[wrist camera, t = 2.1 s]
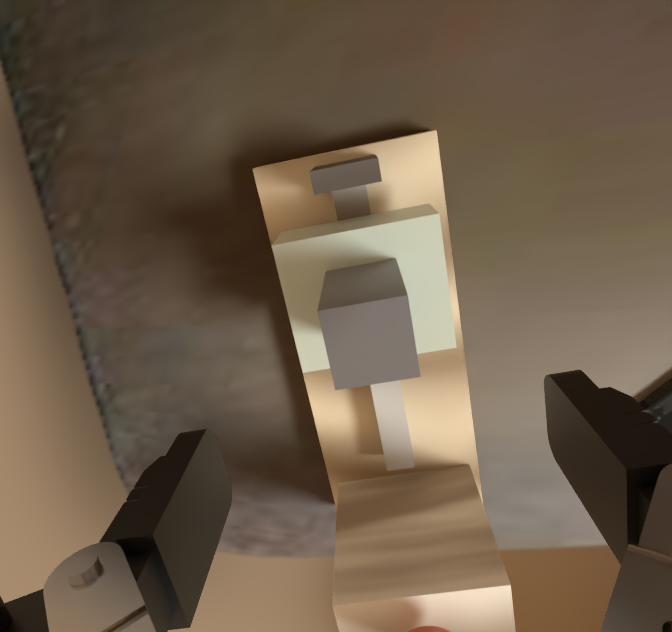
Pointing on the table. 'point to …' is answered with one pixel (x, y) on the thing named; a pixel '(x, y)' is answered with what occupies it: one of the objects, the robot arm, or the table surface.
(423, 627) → the button
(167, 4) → the table surface
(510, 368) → the table surface
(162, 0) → the table surface
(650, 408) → the phone
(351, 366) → the block
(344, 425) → the rail base
